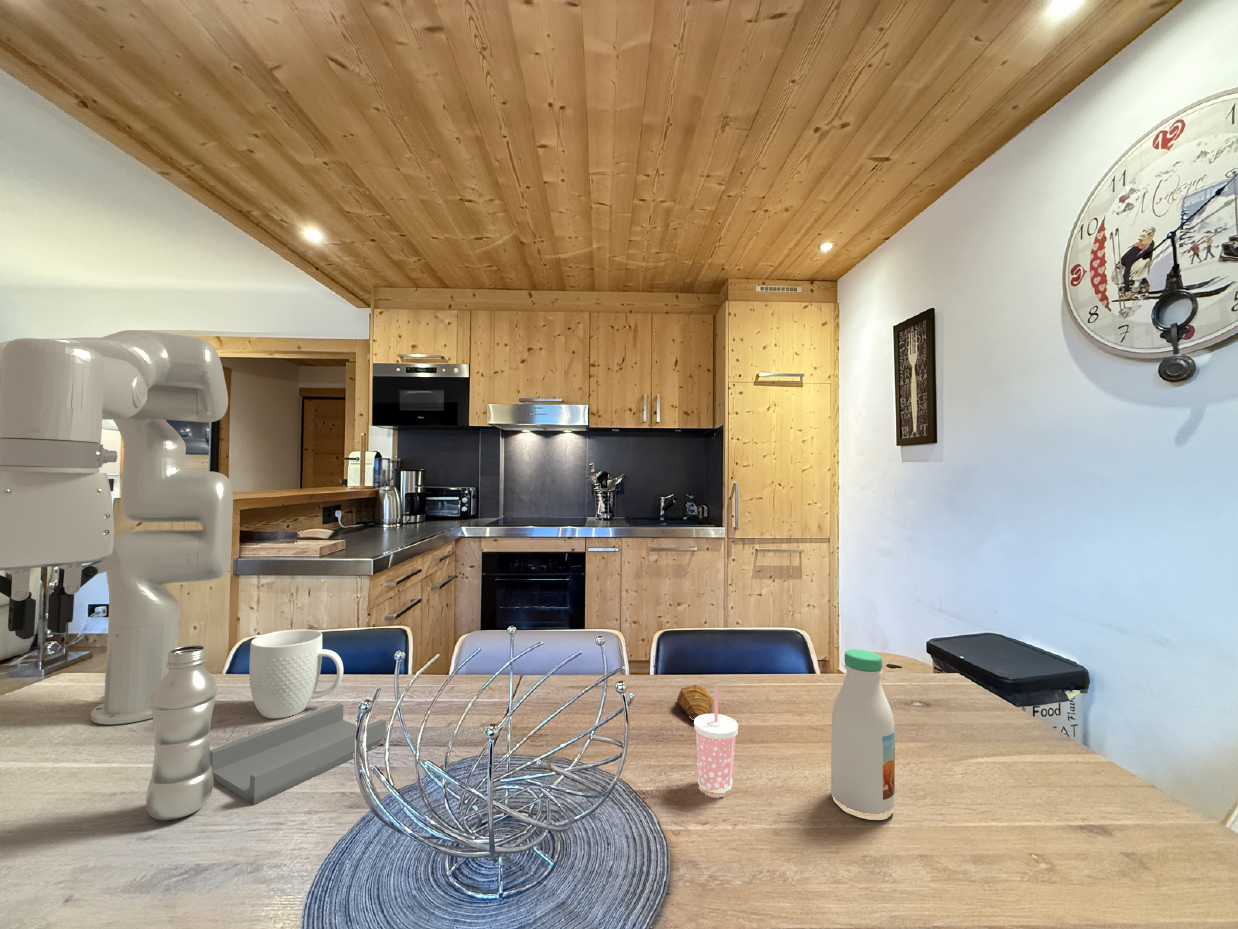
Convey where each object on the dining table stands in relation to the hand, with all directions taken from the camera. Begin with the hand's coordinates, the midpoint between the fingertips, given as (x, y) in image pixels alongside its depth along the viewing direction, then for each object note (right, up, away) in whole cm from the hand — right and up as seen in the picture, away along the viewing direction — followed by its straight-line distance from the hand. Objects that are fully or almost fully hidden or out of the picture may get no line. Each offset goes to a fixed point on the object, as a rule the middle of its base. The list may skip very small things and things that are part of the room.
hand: (40, 632), depth 56 cm
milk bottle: (+93, -28, +15) cm, 98 cm away
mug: (+2, -27, +39) cm, 48 cm away
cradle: (+13, -26, +23) cm, 38 cm away
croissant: (+75, -29, +43) cm, 91 cm away
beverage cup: (+74, -28, +18) cm, 81 cm away
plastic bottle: (+6, -26, +10) cm, 28 cm away
